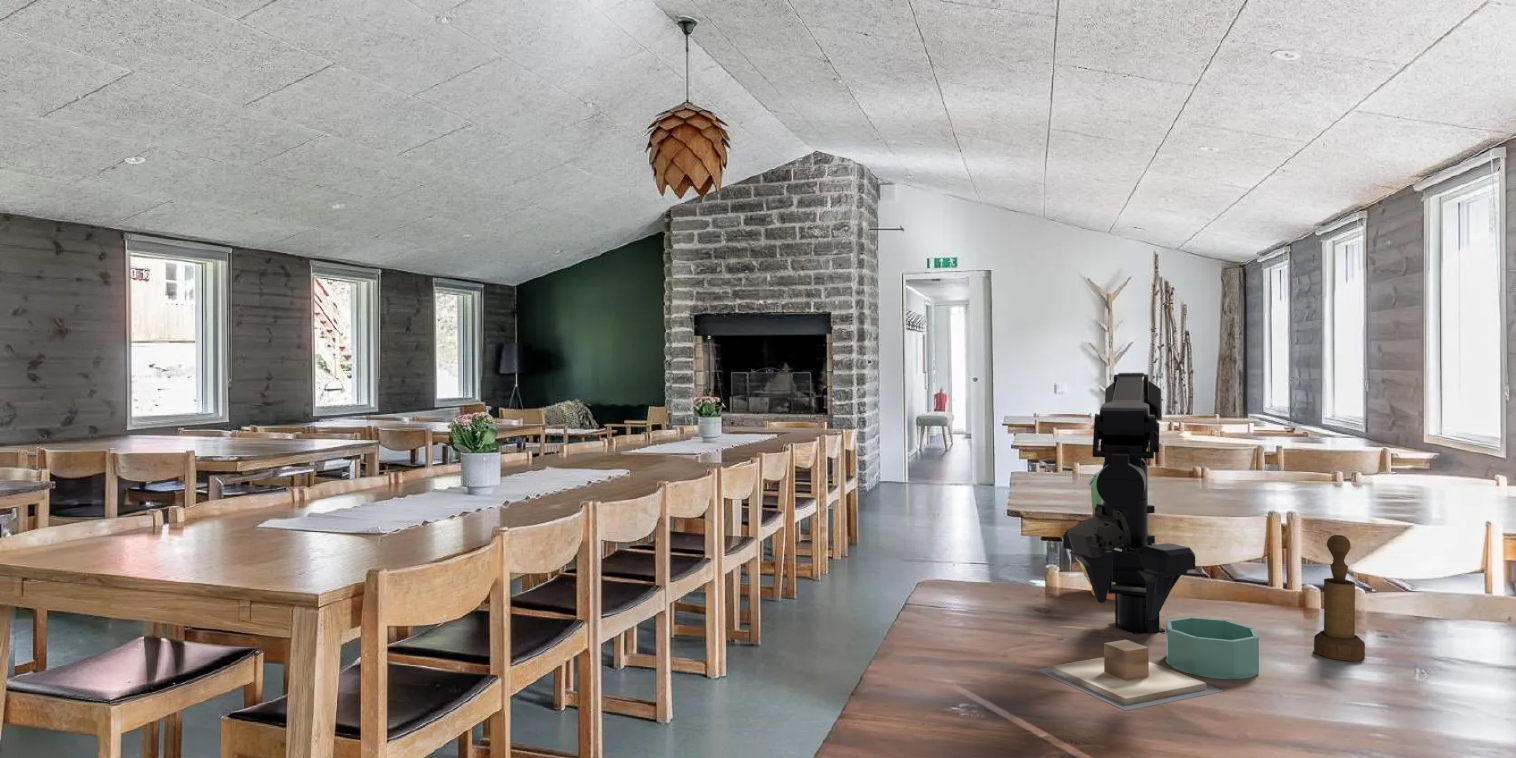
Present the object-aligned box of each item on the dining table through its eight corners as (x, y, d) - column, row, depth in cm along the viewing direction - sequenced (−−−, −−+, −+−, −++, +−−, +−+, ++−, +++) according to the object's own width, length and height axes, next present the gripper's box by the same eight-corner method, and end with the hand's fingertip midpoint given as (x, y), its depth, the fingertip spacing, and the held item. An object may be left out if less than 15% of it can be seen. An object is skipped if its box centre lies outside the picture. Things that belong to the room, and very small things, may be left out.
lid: (1051, 671, 128) (1050, 637, 128) (1126, 658, 133) (1126, 626, 133) (1125, 704, 115) (1125, 667, 115) (1206, 689, 120) (1206, 653, 120)
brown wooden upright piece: (1373, 662, 132) (1372, 540, 132) (1324, 660, 133) (1324, 539, 133) (1353, 648, 139) (1352, 532, 139) (1306, 646, 140) (1306, 531, 140)
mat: (1035, 674, 128) (1035, 669, 128) (1126, 658, 135) (1126, 654, 135) (1125, 715, 113) (1125, 710, 113) (1224, 695, 119) (1224, 691, 119)
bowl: (1147, 663, 133) (1147, 622, 133) (1206, 653, 138) (1206, 613, 138) (1216, 689, 122) (1216, 645, 122) (1278, 677, 127) (1278, 634, 127)
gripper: (1032, 493, 129) (1033, 601, 129) (1132, 511, 112) (1133, 636, 112) (1093, 488, 134) (1094, 593, 134) (1198, 505, 116) (1199, 625, 116)
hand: (1125, 610), depth 124 cm, fingers open, 9 cm apart
